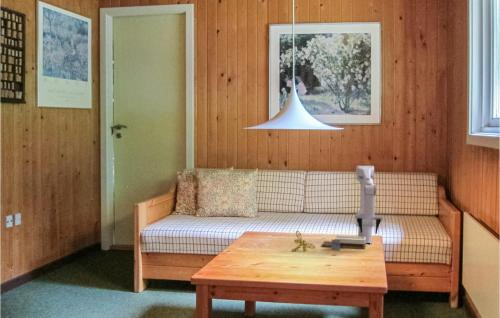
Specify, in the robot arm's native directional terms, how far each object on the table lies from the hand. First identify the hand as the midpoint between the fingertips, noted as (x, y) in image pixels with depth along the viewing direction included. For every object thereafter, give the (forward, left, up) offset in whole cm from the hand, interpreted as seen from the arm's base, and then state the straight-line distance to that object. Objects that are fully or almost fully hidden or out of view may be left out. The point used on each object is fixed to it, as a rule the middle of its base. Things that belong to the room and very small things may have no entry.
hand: (368, 233), depth 291 cm
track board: (-7, -14, -9) cm, 18 cm away
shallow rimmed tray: (-7, -10, -8) cm, 14 cm away
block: (+3, -17, -9) cm, 20 cm away
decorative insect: (+13, -33, -9) cm, 37 cm away
